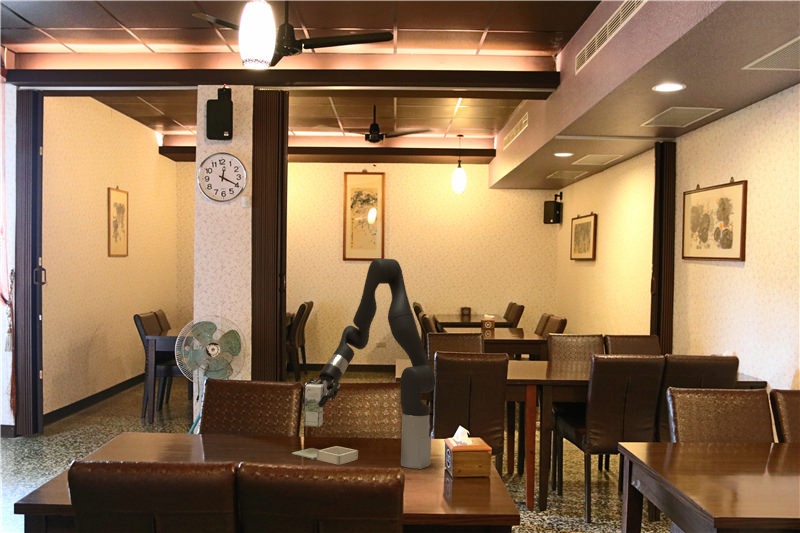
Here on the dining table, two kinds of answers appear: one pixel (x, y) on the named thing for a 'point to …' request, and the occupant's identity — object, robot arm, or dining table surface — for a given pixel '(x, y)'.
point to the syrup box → (313, 405)
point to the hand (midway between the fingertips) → (311, 404)
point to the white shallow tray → (330, 454)
